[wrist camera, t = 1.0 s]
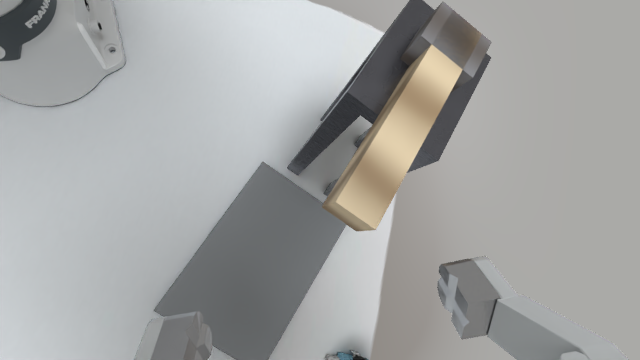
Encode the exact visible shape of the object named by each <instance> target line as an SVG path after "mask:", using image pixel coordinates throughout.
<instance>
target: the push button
mask: <svg viewBox="0 0 640 360" xmlns="http://www.w3.org/2000/svg"><path fill="white" fill-rule="evenodd" d="M350 351H351V352H352V353H353V355H349V354H345V353H341V352H338V354H337V356H336V355H334V356H331V355H327V356H326V360H368V359H366V358H363V357H361V356H360V354H359V353H358V352H356V351H353V350H350Z"/></svg>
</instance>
